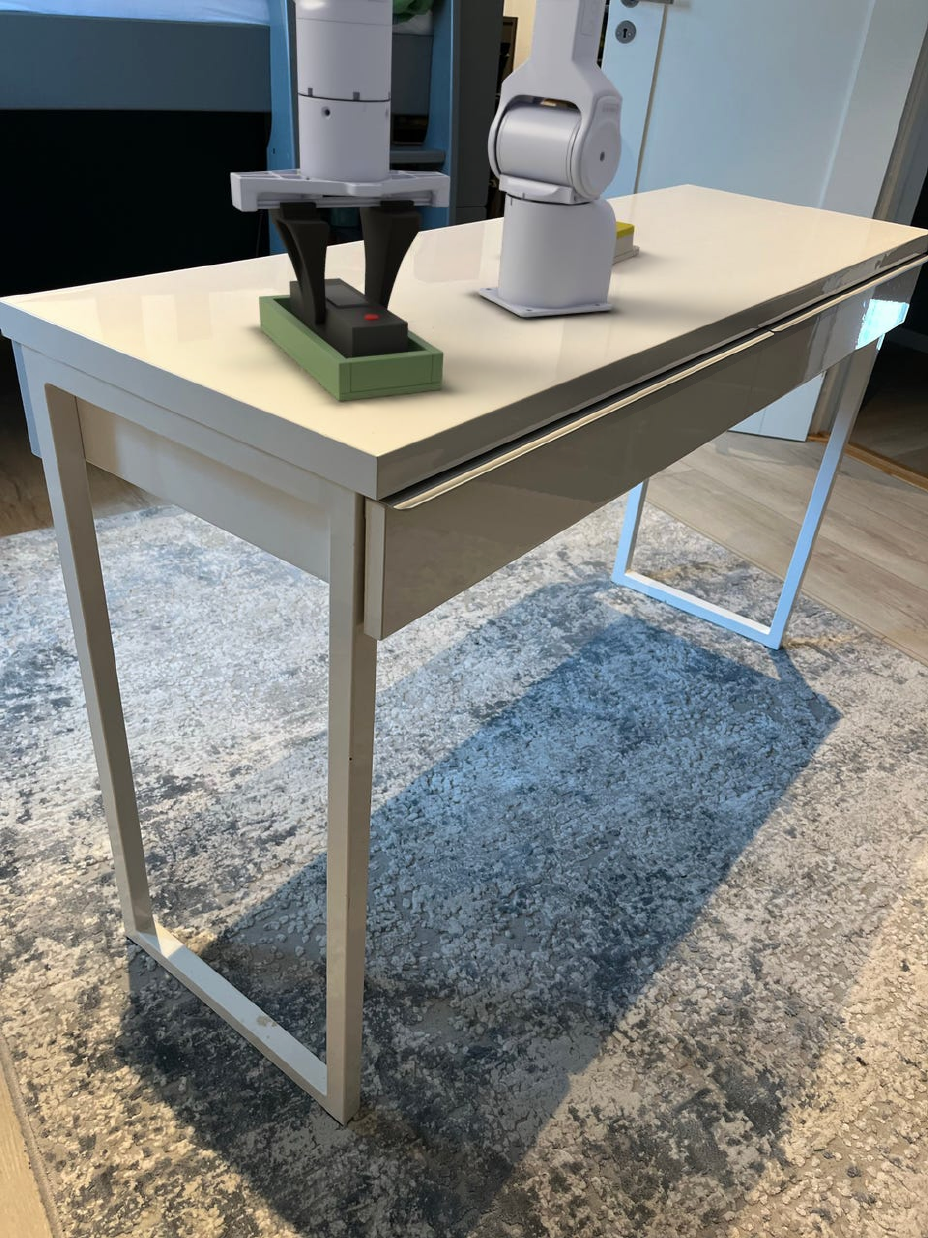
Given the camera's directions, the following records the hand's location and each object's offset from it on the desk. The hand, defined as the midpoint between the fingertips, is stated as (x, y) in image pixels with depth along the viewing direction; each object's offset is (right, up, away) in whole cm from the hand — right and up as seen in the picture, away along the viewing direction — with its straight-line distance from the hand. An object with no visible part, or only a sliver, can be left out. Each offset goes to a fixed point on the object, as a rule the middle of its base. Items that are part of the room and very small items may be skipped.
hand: (345, 318), depth 65 cm
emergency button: (+21, +18, +35) cm, 45 cm away
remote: (0, -1, +1) cm, 1 cm away
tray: (0, -2, +2) cm, 3 cm away
